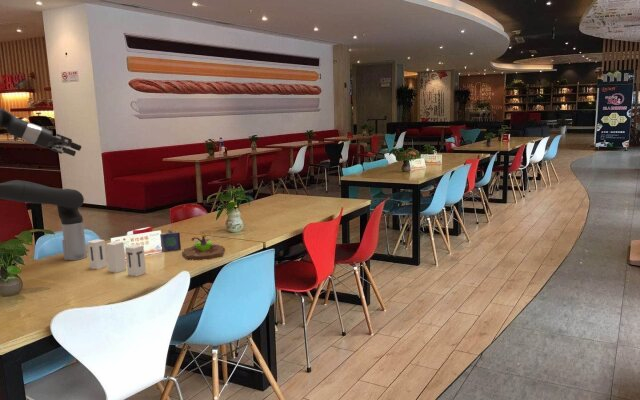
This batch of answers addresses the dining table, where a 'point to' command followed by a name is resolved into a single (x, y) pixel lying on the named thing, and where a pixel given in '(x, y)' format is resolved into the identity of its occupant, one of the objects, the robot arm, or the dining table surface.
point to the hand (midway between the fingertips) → (77, 151)
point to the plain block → (115, 256)
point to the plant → (203, 250)
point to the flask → (170, 241)
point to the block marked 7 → (135, 260)
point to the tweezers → (205, 239)
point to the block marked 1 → (97, 254)
